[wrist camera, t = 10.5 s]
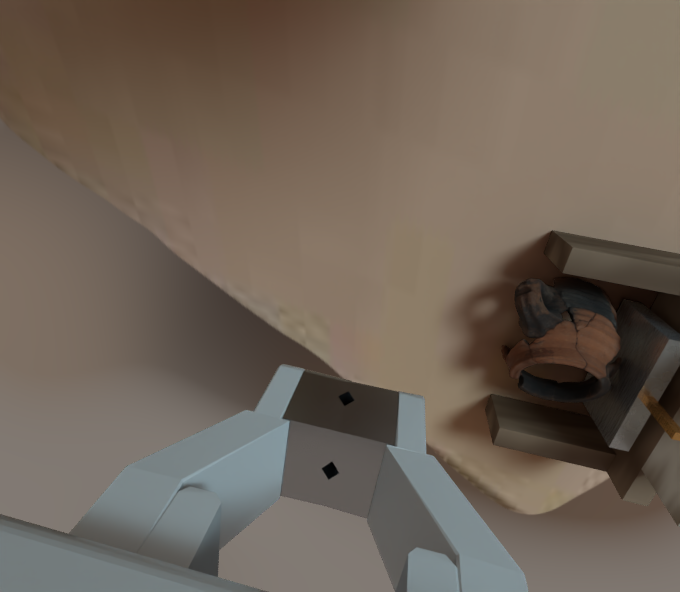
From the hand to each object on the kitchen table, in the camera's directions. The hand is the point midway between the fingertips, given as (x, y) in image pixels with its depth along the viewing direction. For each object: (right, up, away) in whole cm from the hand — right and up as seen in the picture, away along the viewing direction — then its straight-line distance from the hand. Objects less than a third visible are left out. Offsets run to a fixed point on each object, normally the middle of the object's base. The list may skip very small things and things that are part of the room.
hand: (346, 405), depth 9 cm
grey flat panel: (+25, -3, +28) cm, 38 cm away
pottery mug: (+19, 0, +29) cm, 34 cm away
